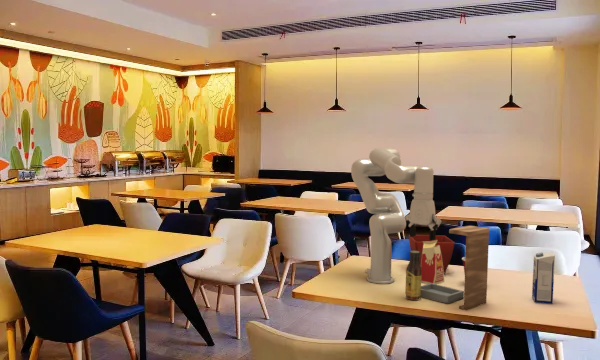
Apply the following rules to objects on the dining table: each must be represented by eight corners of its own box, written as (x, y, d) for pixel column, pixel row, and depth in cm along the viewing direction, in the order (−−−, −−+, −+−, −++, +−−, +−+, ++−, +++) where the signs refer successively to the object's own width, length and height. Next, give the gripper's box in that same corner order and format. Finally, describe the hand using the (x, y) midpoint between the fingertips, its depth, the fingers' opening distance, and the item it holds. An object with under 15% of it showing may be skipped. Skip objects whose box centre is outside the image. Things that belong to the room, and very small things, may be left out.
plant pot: (453, 276, 253) (455, 242, 252) (414, 275, 253) (415, 241, 252) (444, 267, 272) (445, 235, 271) (407, 266, 272) (408, 234, 271)
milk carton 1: (444, 281, 242) (445, 239, 241) (434, 285, 236) (436, 241, 234) (426, 278, 249) (428, 236, 247) (416, 281, 242) (418, 239, 241)
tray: (414, 294, 220) (414, 287, 219) (430, 289, 228) (431, 283, 227) (447, 303, 208) (447, 296, 207) (463, 298, 216) (463, 291, 215)
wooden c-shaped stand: (446, 305, 206) (449, 229, 204) (467, 298, 216) (469, 225, 214) (466, 310, 200) (469, 232, 198) (486, 302, 210) (489, 228, 208)
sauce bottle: (403, 296, 218) (404, 249, 216) (417, 296, 218) (419, 249, 217) (407, 301, 211) (409, 252, 210) (422, 300, 212) (424, 252, 210)
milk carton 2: (552, 304, 210) (555, 255, 208) (534, 302, 211) (536, 254, 210) (549, 299, 216) (551, 251, 215) (531, 297, 218) (533, 250, 217)
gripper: (400, 195, 218) (399, 236, 219) (435, 199, 205) (434, 242, 206) (411, 194, 223) (410, 234, 224) (446, 198, 210) (445, 240, 211)
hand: (422, 238), depth 215 cm, fingers open, 9 cm apart
